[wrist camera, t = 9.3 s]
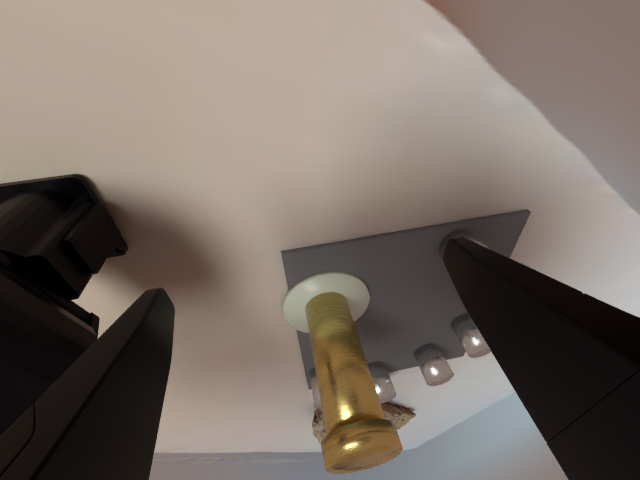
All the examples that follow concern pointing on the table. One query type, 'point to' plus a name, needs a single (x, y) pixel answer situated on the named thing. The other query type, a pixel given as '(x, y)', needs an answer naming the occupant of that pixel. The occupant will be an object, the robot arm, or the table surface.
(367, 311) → the mat
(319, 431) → the stone
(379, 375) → the spacers
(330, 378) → the brass sleeve
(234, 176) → the table surface
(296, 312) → the pad
